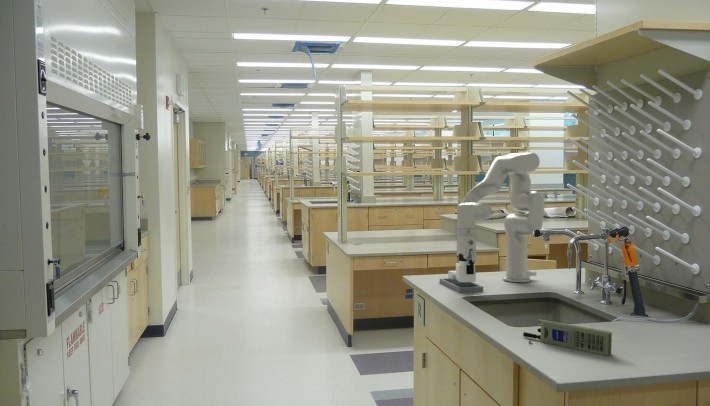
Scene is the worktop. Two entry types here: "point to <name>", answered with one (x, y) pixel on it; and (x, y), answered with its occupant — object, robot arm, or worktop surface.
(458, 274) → the medicine bottle
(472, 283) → the bay tray
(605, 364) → the worktop surface
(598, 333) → the handheld radio
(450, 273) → the steel block
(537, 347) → the worktop surface
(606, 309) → the worktop surface
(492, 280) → the worktop surface
